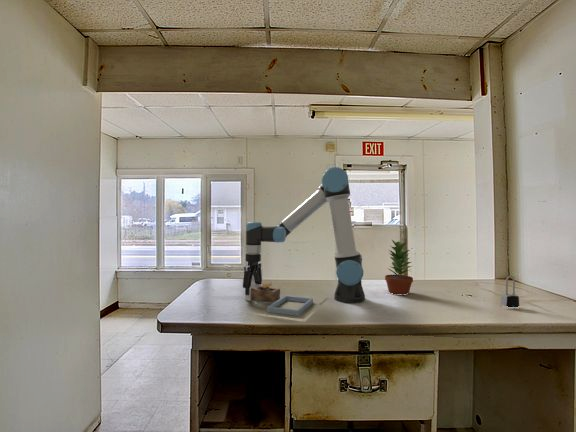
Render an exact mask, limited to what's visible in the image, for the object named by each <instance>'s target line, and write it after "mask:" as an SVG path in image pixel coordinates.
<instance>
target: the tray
mask: <svg viewBox="0 0 576 432" xmlns="http://www.w3.org/2000/svg"><path fill="white" fill-rule="evenodd" d="M286 301H287V302H288V301H289V302H295V303H296V302H297V303H303V304H302V305H301V306H300V307H299V308H297V309H293V308H284V307H280V305H282V304H283V303H285V302H286ZM313 304H314V298H310V297H303V296H302V297H301V296H292V295H284V296H282V297H280V299H279V300H277V301H275V302H274V303H270V304H269V305H268V306H266V312H267V313H269V315H272V316H273V314H271V313H274V314H277V316H280V315H279V314H281V315H288V316H291V318H293V319H294V318H295V317H296V316H297V317H300V315H301V314H302V313H303V312H304V311H305V310H307V309H308V308H309V307H310V306H311V305H313ZM278 306H279V307H278ZM288 316H284V317H287V318H288ZM292 316H295V317H292Z"/></svg>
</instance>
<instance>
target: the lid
mask: <svg viewBox="0 0 576 432" xmlns="http://www.w3.org/2000/svg"><path fill="white" fill-rule="evenodd" d="M272 285H273V284H272V282H269V281H267V282H265V283H262V287H265V290H269V288H270V287H271V286H272ZM253 302H256V303H259V304H272V303H273V302H265V301H257V300H254V299H253Z"/></svg>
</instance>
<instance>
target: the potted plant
mask: <svg viewBox="0 0 576 432" xmlns="http://www.w3.org/2000/svg"><path fill="white" fill-rule="evenodd" d="M391 242H392V243H393V244H394V246H391V248H392V250H393V251H392V250H390V249H388V251H389V252H390V253H389V252H388V254H389V255H390V259H391V260H392V261H391V265H392V266H391V265H390V266H389V267H390V268H391V269H390V268H388V270H389V271H390V272H392V273H393V274H386V275H385V276H384V280H385V282H386V286H387V289H388V293H389V292H390V293H393V294H392V295H394V294H407V293H410V291H411V287H412V284H413V282H414V277H412V276H409V275H404V273H405V272H409V269H408V268H412V267H413V265H412V266H411V265H409V264H411V263H412V261H408V260H410V257H407V256H409V254H410V252H409V251H410V249H407V250H406V249H403V248H404V247H405V245H406V244H407V242H401V241H400V240H398V241H394V240H393V239H391ZM407 261H408V262H407ZM407 265H408V266H407ZM392 269H393V270H392ZM390 293H389V294H390Z"/></svg>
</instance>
